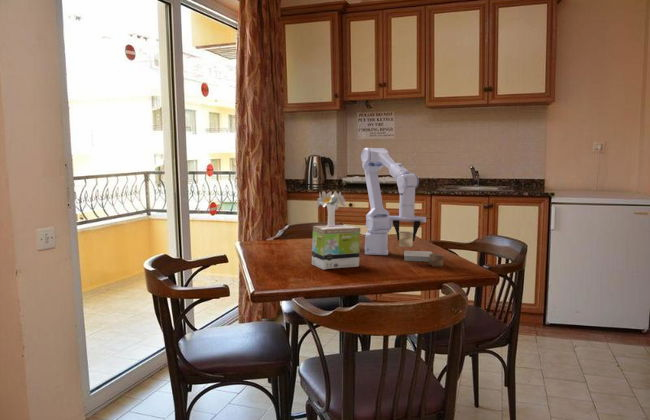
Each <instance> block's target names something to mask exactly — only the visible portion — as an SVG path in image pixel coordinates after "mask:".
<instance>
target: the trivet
mask: <svg viewBox="0 0 650 420" xmlns="http://www.w3.org/2000/svg"><path fill="white" fill-rule="evenodd" d="M430 254H433V252H432V251H427V250H426V251H425V250H420V251H419V250H404V251H403V257H404V258H403V259H404V262H422V261H423V262H424V263H426V262H428V263H429V256H430Z"/></svg>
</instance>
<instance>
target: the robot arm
mask: <svg viewBox="0 0 650 420" xmlns="http://www.w3.org/2000/svg"><path fill="white" fill-rule="evenodd" d="M360 160H361V164H362V165H361V166H362V169H363V170H364V175H365V177H364V178H365V184H366V188H367V193H368V194H367V195H368V200H369V206H370V211H368V213H367V214H366V215H365V219H366V221H365V227H366V229H367V231H366V232H365V238H364V241H365V242H364V255H372V256H373V255H374V256H376V255H377V256H388V255H389V250H388V241H389V240H388V237H389V235H388V233H390V231H391V229H392V227H393V228H394V231H395V234H396V237H397V238H396V239H397V241H398V242H399V233H400V222H403V223H404V222H407V223H410V222H411V223H413V224H412V225H413V231H412V232H413V242H415V241H416V240H415V239H416V235H417V232H418V230H419V228H420V226H421V223H427V217H426V216H419V215H418V216H416V215H415V207H416V205H415V204H416V203H415V201H416V188H418V186H419V183H420V179H419V177H418V175H417V173H415V172H414V173H412V172H410V171H409V170H408V169H407V168H405V167H404V166H403V164H402V163H401V162H395V161H394V159H392V157H391V156H390V155H389V150H387V149H386V147H382V148H381V147H379V148H378V147H377V148H376V147H375V148H374V147H365V148H363V149H362V151H361V155H360ZM383 167H386V168H387V169H388V173H389V175H390V176H391V177H392V178H393V179H394V180H395V181H396V185H397V188H398V193H399V206H398V208H399V209H398V215H390V211H388V210H387V209H386V208H384V203H383V197H382V191H381V187H380V180H379V174H378V171H380V170H382V168H383Z"/></svg>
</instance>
